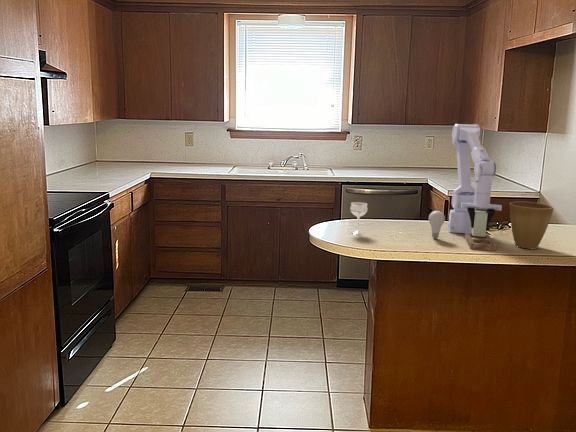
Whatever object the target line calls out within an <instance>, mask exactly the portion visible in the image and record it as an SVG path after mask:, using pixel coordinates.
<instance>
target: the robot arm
mask: <svg viewBox="0 0 576 432" xmlns="http://www.w3.org/2000/svg"><path fill="white" fill-rule="evenodd" d="M480 135H481V127H480V125H479V124H469V123H468V124H467V123H466V124H462V123H455V124H454V125H453V127H452V130H451V141H452V146H453V147H454V148H455V149H456V150H455V151H456V164H457V166H456V167H457V181H458V186H457V188H455V189H454V190H453V191H452V193H451V206H452V208H453V209H450V210H449V214H448V216H449V217H448V224H447V229H448V232H449V233H455V234H465V233H472V228H473V227H474V216H475V211H477V210H484V211H486V212H487V213H488V215H487V224H486V229H487V230H488V227H489V224H490V222H491V220H492V219H493V217H494V215H495V213H496V211H499V212H501V211H502V210H503V209H502V208H503V206H502V204H496V203H495V204H494V203H491V193H492V183H493V177H495V175H496V173H497V163H496V161H495V160H492V159H490V157H489V154H488V152H487V149H486V148H485V147H483V146H482V144H481V141H480ZM470 149H471V152H470ZM470 156H471V159H472V161H473V164H474V168H473V169H474V180H475V187H474V186H472V177H471V162H470V161H471V160H470Z"/></svg>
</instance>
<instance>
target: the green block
mask: <svg viewBox="0 0 576 432" xmlns="http://www.w3.org/2000/svg"><path fill="white" fill-rule="evenodd" d="M487 215H488V213H487V212H486V210H484V211H483V210H475V216H474V227H473V228H472V235H473V236H481V237H485V234H487V232H486V231H487V230H486V224H487Z"/></svg>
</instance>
